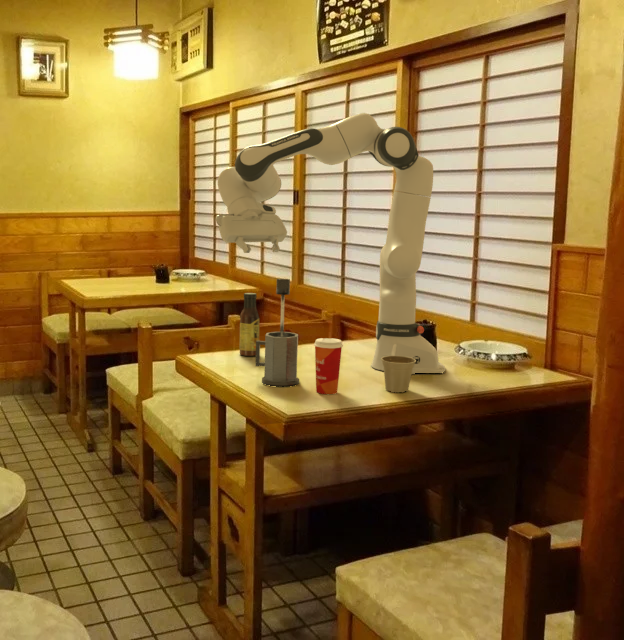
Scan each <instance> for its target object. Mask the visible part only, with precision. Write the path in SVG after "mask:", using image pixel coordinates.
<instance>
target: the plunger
mask: <svg viewBox="0 0 624 640" xmlns="http://www.w3.org/2000/svg"><path fill="white" fill-rule="evenodd" d="M290 289H291V279H290V278H276V290H275V294H276V295H279V296H280V295H281V296H280V325H279V327H280V328H279V332H280V337H283V334H284V332H285V331H284V327H285V296H287V295H288V296H289V295H290V294H291V293H290Z"/></svg>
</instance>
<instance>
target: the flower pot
mask: <svg viewBox="0 0 624 640" xmlns="http://www.w3.org/2000/svg"><path fill="white" fill-rule="evenodd" d="M381 360H382V363H383V366H384V371H383V373H384V386H385V390H386V391H389V392H390V391H391V393H394V392H395V393H396V392H402V393H404V392H405V391H407V392H408V391H409V389H410V383H411V379H412V378H411V377H412V375H413V374H412V369H413V367H414V363H415V362H416V360H415V359H413V358H410V357H405V356H385V357H382V358H381Z"/></svg>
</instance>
